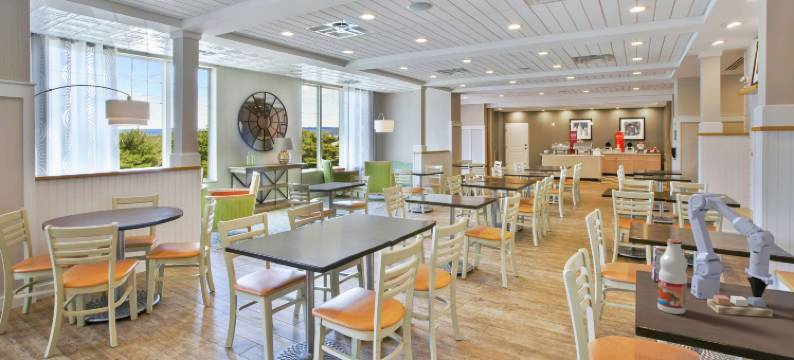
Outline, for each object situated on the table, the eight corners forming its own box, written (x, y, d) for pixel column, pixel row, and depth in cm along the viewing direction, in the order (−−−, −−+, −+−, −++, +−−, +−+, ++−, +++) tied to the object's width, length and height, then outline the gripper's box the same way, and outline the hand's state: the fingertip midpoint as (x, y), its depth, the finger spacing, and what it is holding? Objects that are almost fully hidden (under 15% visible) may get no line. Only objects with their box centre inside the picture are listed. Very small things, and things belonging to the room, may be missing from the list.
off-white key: (735, 305, 168) (736, 299, 168) (730, 301, 172) (730, 295, 172) (747, 306, 167) (748, 300, 167) (741, 302, 171) (742, 296, 171)
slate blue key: (753, 306, 167) (754, 300, 166) (747, 303, 171) (748, 296, 170) (765, 307, 166) (766, 301, 166) (759, 303, 170) (760, 297, 169)
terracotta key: (718, 304, 169) (718, 298, 169) (713, 300, 173) (713, 294, 173) (729, 305, 168) (730, 299, 168) (724, 301, 172) (724, 295, 172)
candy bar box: (653, 282, 204) (655, 247, 203) (651, 279, 209) (652, 245, 208) (681, 284, 201) (683, 249, 199) (678, 281, 205) (680, 247, 204)
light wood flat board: (718, 313, 167) (718, 307, 167) (706, 304, 176) (707, 298, 176) (772, 317, 163) (772, 310, 163) (758, 307, 172) (758, 301, 172)
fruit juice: (691, 313, 167) (695, 242, 165) (670, 315, 166) (673, 243, 163) (672, 304, 177) (675, 236, 174) (651, 306, 175) (654, 238, 173)
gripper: (783, 268, 159) (781, 304, 160) (760, 257, 173) (758, 291, 174) (761, 267, 160) (759, 303, 161) (739, 257, 174) (737, 290, 176)
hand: (757, 296), depth 168 cm, fingers closed
